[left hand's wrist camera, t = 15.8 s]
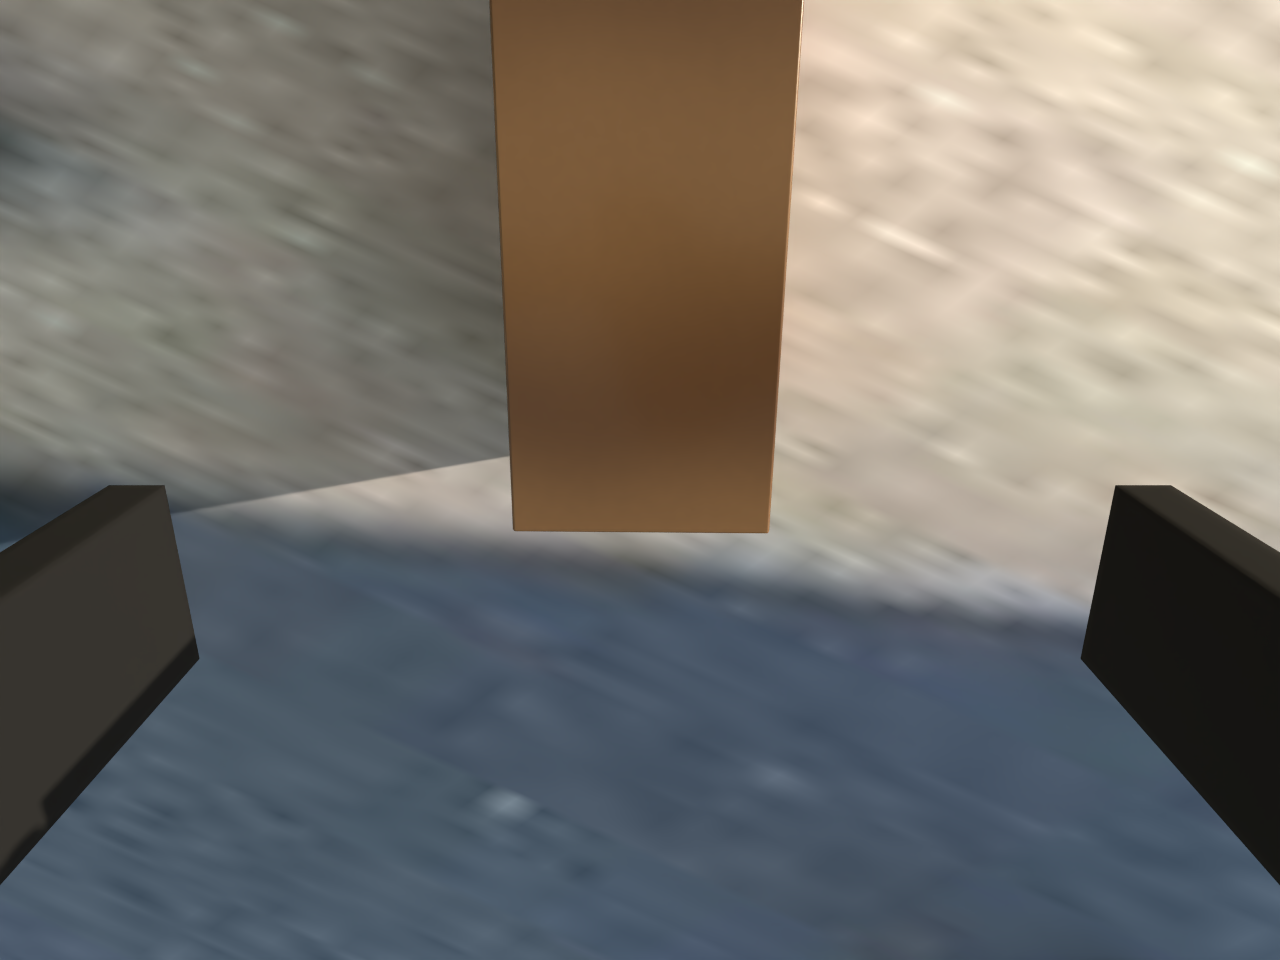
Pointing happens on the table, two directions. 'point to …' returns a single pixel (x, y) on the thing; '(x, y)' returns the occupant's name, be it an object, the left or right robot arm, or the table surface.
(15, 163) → the table surface
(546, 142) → the box
